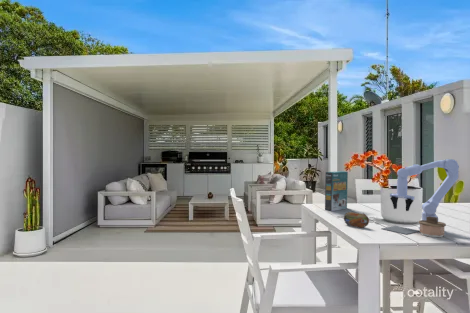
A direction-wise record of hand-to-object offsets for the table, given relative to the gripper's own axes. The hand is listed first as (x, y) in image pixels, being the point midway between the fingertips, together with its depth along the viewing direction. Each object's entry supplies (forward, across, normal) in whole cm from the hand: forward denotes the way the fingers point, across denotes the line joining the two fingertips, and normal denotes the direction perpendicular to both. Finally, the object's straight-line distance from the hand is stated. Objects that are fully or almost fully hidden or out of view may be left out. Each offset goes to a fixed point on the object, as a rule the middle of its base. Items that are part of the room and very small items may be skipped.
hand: (401, 209), depth 201 cm
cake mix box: (+12, -62, +16) cm, 66 cm away
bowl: (+10, +20, -5) cm, 23 cm away
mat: (+10, +6, -10) cm, 15 cm away
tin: (+11, -14, -24) cm, 30 cm away
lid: (+4, +20, -5) cm, 21 cm away
